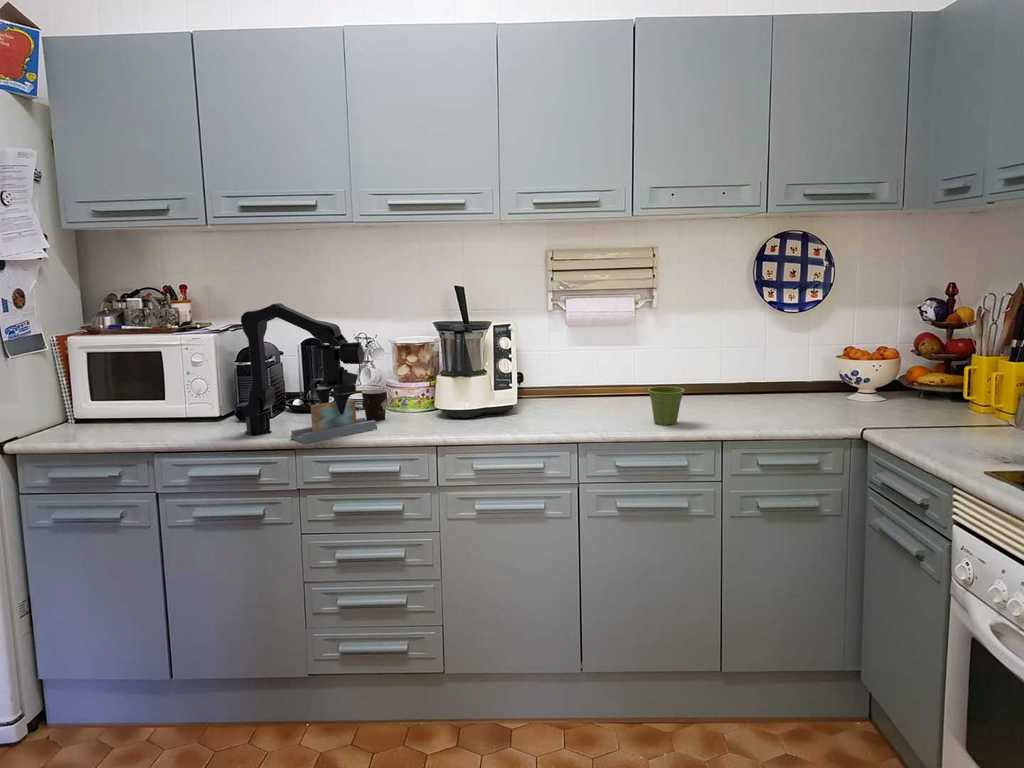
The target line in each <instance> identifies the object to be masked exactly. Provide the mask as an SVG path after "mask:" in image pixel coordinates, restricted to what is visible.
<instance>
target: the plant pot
mask: <svg viewBox="0 0 1024 768" xmlns="http://www.w3.org/2000/svg"><path fill="white" fill-rule="evenodd" d="M647 391H648V392H649V393H648V394H649V398H650V402H651V408H652V416H653V422H654V423H655V424H657V425H660V426H669V425H676V424H677V423H678V417H679V412H680V407H681V401H682V399H683V394H684V392H685V391H686V389H684V388H681V387H677V386H654V387H653V386H652V387H649V388H647Z"/></svg>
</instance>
